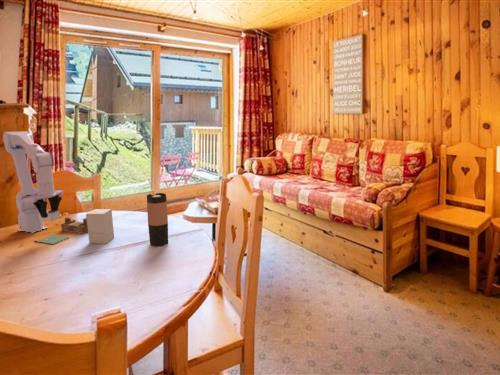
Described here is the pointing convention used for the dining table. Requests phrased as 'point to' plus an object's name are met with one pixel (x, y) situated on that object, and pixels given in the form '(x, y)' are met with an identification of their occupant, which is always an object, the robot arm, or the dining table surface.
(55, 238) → the felt mat
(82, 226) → the plane body
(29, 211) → the robot arm
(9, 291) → the dining table surface
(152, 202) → the travel mug
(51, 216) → the lever cap
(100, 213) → the supplement box
